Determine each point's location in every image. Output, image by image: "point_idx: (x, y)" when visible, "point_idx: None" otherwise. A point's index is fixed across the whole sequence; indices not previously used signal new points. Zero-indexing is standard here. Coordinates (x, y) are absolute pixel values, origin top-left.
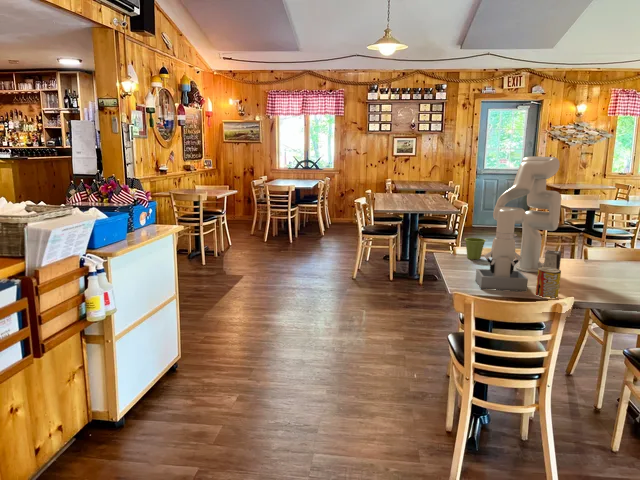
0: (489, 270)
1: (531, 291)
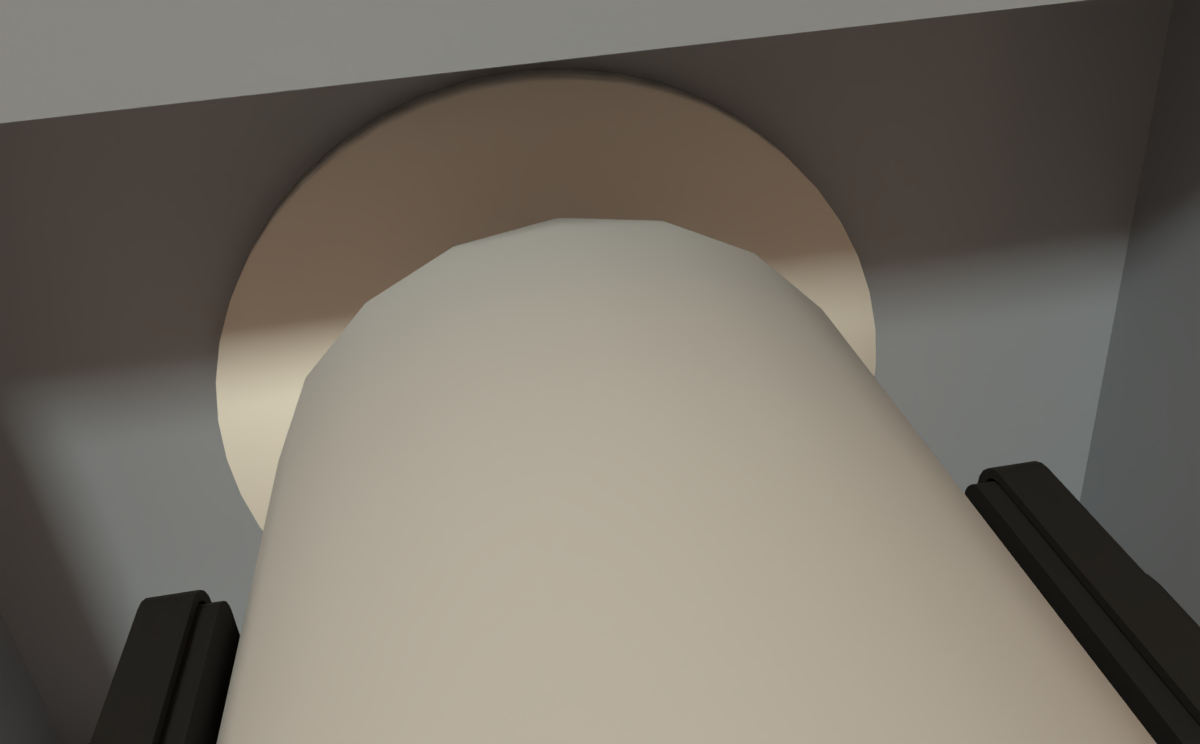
0: (43, 116)
1: None
